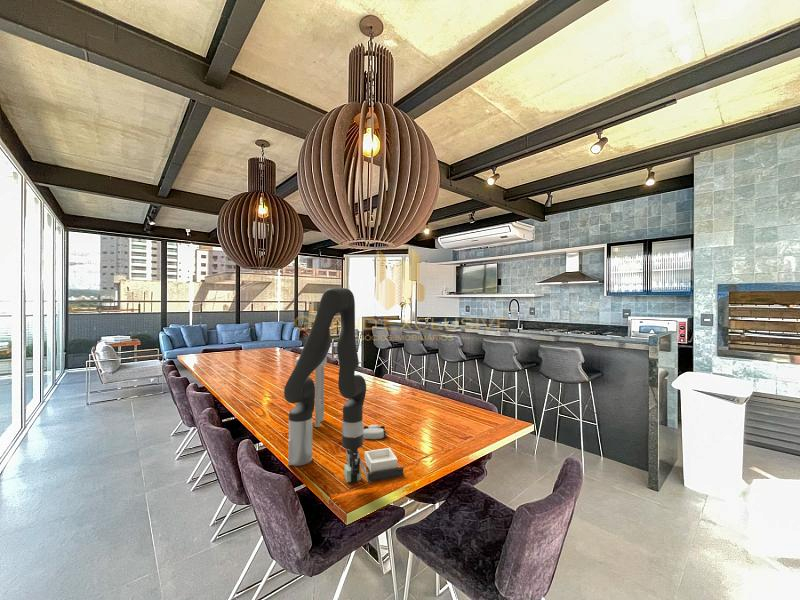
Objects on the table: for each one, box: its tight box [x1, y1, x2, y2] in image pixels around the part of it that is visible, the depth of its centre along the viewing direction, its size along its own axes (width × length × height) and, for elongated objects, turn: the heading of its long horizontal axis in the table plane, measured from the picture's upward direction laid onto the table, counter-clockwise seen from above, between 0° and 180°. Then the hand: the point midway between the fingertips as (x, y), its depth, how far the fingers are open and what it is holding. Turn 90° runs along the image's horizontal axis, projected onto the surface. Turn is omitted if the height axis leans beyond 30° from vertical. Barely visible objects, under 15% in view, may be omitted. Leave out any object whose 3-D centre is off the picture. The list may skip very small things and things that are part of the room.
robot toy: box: [363, 423, 387, 440], centre depth 159 cm, size 12×4×15 cm
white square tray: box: [364, 447, 399, 472], centre depth 125 cm, size 10×10×6 cm
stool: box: [294, 356, 328, 428], centre depth 176 cm, size 16×16×35 cm
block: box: [343, 463, 362, 483], centre depth 119 cm, size 5×5×5 cm
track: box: [359, 455, 404, 483], centre depth 129 cm, size 13×22×4 cm, turn 19°
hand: (352, 479), depth 119 cm, fingers closed on block, 5 cm apart
